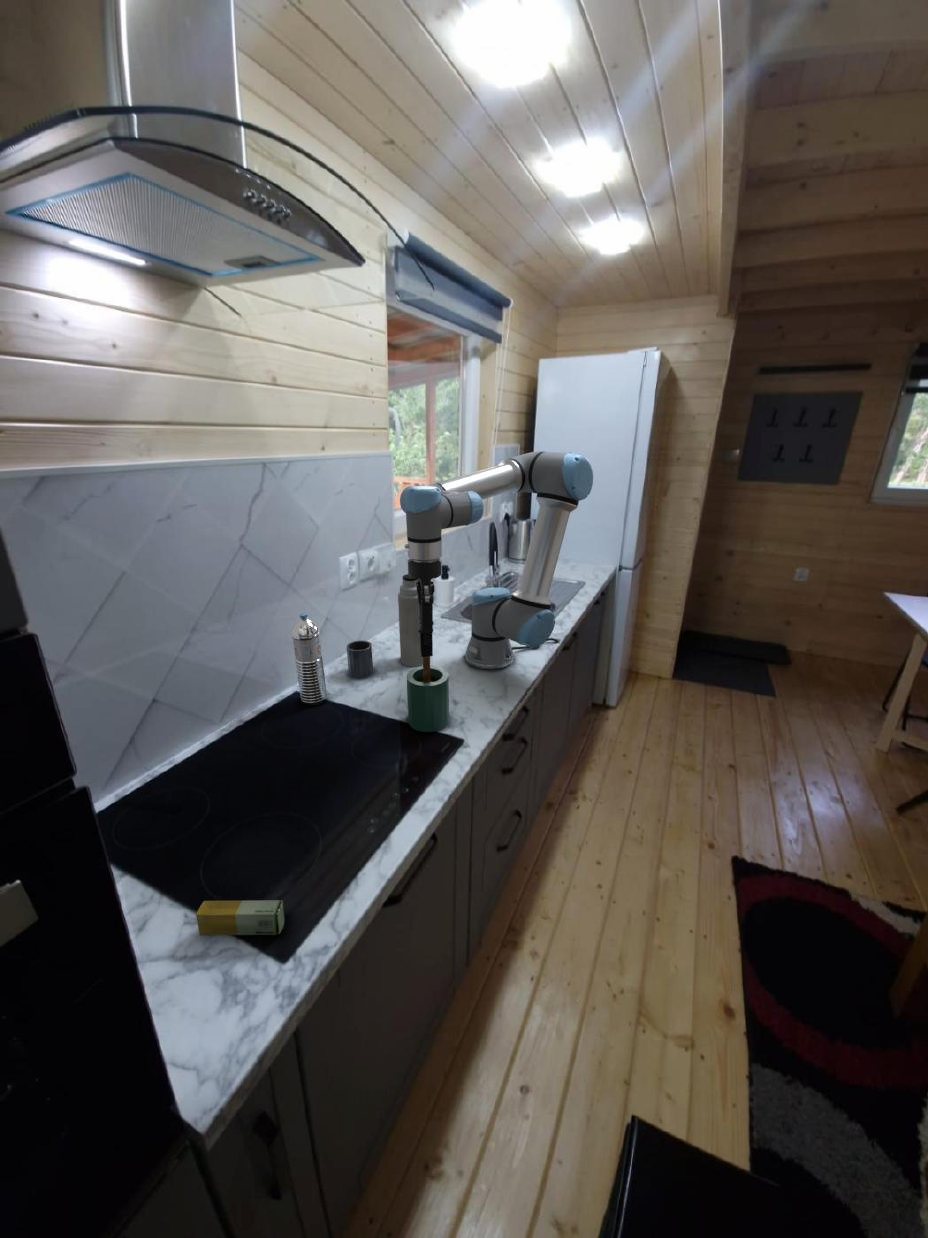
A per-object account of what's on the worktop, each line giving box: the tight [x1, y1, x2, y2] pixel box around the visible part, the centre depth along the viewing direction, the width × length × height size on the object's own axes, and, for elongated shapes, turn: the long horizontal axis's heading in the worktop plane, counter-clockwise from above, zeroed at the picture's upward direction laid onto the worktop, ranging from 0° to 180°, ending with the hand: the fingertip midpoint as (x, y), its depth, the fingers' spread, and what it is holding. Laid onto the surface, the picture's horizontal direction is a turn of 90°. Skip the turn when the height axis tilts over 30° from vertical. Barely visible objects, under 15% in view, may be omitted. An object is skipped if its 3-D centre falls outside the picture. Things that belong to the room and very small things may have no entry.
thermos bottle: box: [397, 573, 423, 667], centre depth 151 cm, size 8×8×28 cm
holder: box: [346, 640, 374, 679], centre depth 147 cm, size 7×7×9 cm
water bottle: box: [291, 612, 328, 707], centre depth 129 cm, size 7×7×25 cm
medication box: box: [195, 899, 286, 936], centre depth 74 cm, size 12×3×4 cm, turn 92°
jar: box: [405, 665, 450, 733], centre depth 123 cm, size 10×10×13 cm
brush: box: [422, 656, 432, 683], centre depth 120 cm, size 4×4×25 cm
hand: (426, 653), depth 119 cm, fingers closed on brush, 2 cm apart
